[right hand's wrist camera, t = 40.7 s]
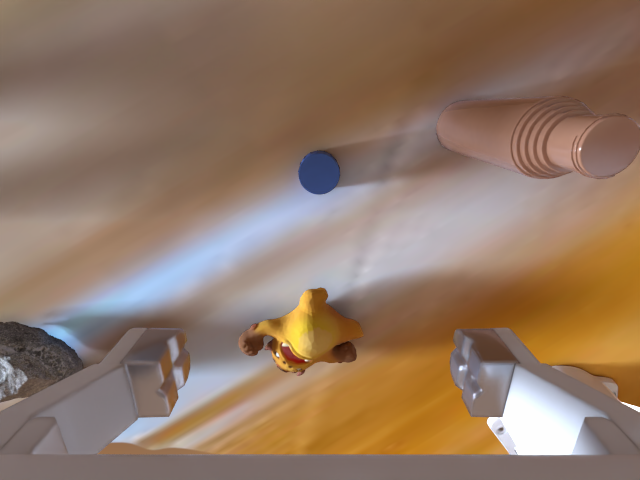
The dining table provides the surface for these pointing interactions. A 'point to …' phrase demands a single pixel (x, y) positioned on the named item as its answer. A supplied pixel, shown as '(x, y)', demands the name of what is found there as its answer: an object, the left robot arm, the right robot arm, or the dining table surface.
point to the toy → (305, 335)
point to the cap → (319, 172)
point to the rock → (32, 361)
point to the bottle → (540, 136)
